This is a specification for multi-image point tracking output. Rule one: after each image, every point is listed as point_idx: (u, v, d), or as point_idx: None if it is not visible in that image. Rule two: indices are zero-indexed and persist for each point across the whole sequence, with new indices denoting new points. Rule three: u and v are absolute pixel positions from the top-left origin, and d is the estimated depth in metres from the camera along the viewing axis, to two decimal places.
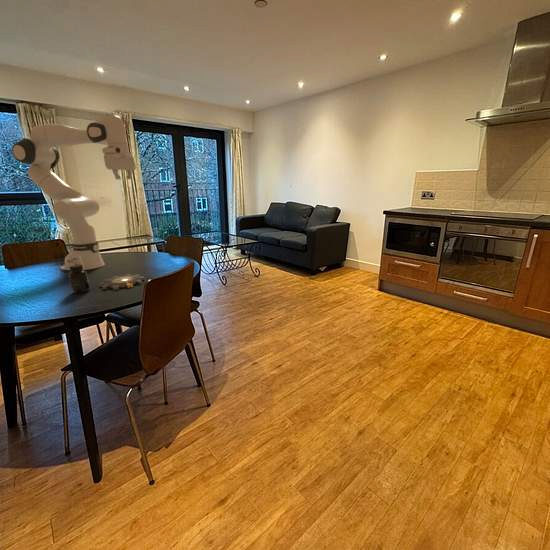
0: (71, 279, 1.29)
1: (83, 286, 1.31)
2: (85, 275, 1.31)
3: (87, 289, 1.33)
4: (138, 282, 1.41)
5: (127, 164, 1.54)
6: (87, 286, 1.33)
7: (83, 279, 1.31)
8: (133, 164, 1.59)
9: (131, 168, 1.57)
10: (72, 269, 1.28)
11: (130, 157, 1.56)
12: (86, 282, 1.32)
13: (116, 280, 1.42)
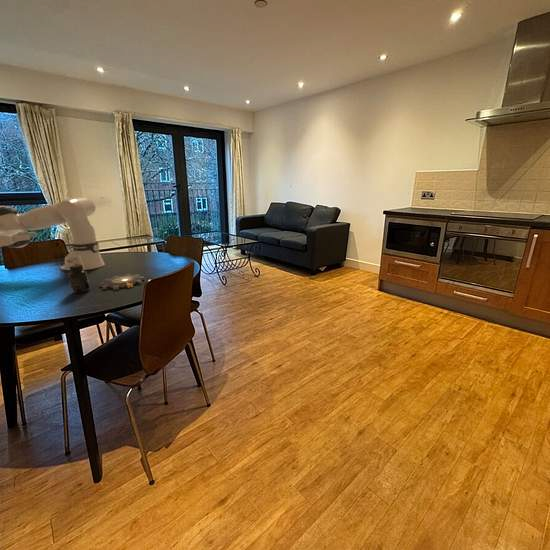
0: (71, 279, 1.29)
1: (83, 286, 1.31)
2: (85, 275, 1.31)
3: (87, 289, 1.33)
4: (138, 282, 1.41)
5: (11, 231, 1.19)
6: (87, 286, 1.33)
7: (83, 279, 1.31)
8: (13, 230, 1.24)
9: (18, 230, 1.23)
10: (72, 269, 1.28)
11: (2, 231, 1.21)
12: (86, 282, 1.32)
13: (116, 280, 1.42)
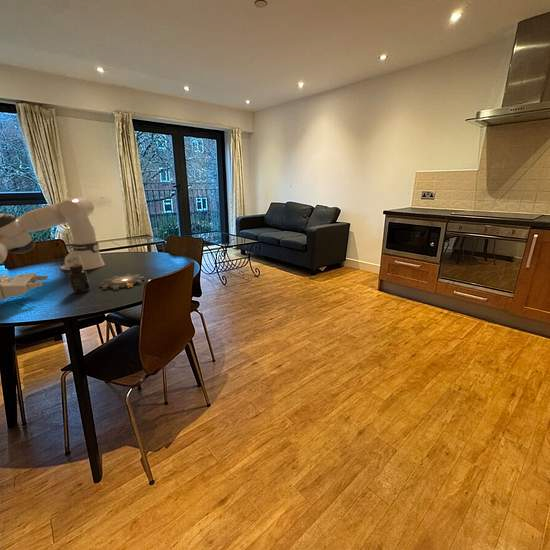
0: (71, 279, 1.29)
1: (83, 286, 1.31)
2: (85, 275, 1.31)
3: (87, 289, 1.33)
4: (138, 282, 1.41)
5: (24, 277, 1.25)
6: (87, 286, 1.33)
7: (83, 279, 1.31)
8: (26, 274, 1.30)
9: (31, 275, 1.28)
10: (72, 269, 1.28)
11: (15, 276, 1.27)
12: (86, 282, 1.32)
13: (116, 280, 1.42)
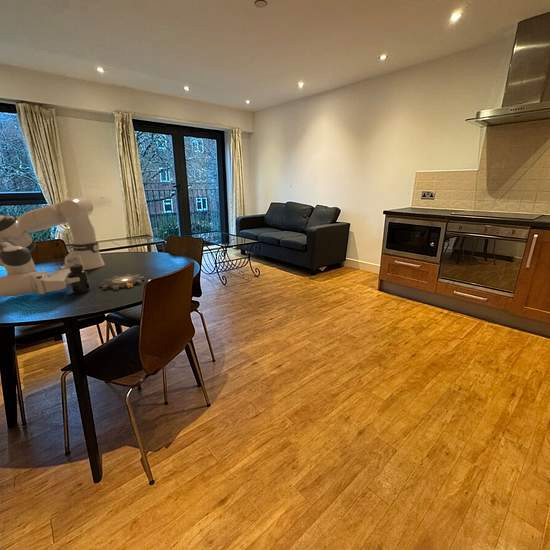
0: None
1: (83, 286, 1.31)
2: (85, 275, 1.31)
3: (87, 289, 1.33)
4: (138, 282, 1.41)
5: (61, 273, 1.31)
6: (87, 286, 1.33)
7: (83, 279, 1.31)
8: (62, 270, 1.35)
9: (67, 271, 1.34)
10: (72, 269, 1.28)
11: (53, 272, 1.32)
12: (86, 281, 1.32)
13: (116, 280, 1.42)
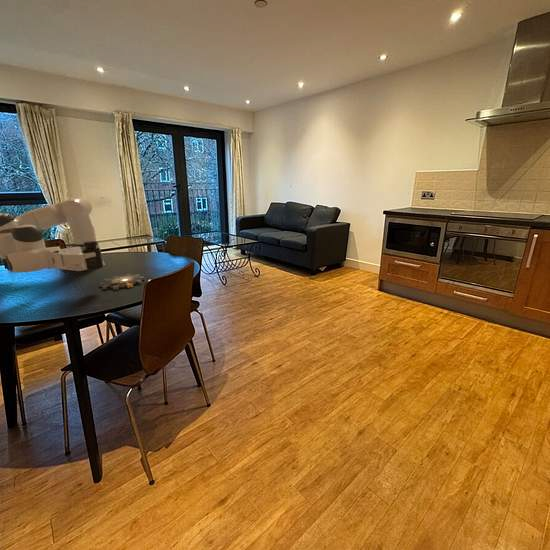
0: None
1: (98, 262, 1.31)
2: (99, 251, 1.32)
3: (101, 265, 1.33)
4: (138, 282, 1.41)
5: (74, 249, 1.30)
6: (102, 262, 1.34)
7: (98, 255, 1.31)
8: (72, 247, 1.34)
9: (78, 248, 1.33)
10: (87, 245, 1.29)
11: None
12: (100, 258, 1.33)
13: (116, 280, 1.42)
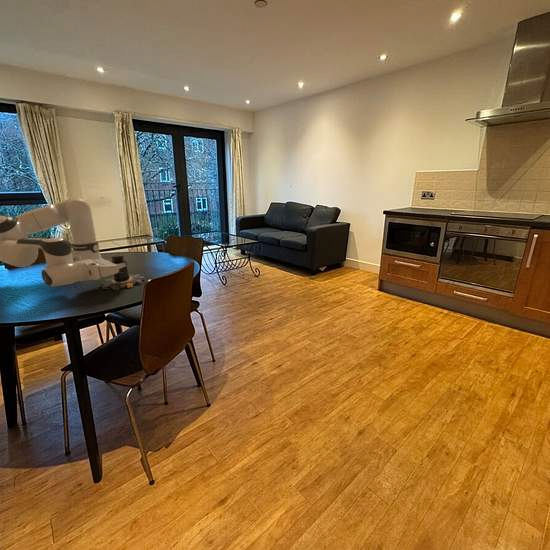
0: None
1: (126, 273, 1.41)
2: (126, 264, 1.41)
3: (128, 277, 1.43)
4: (138, 282, 1.41)
5: (102, 261, 1.37)
6: (128, 274, 1.43)
7: (126, 267, 1.41)
8: (96, 259, 1.40)
9: (103, 259, 1.40)
10: (116, 258, 1.37)
11: None
12: (127, 270, 1.42)
13: None
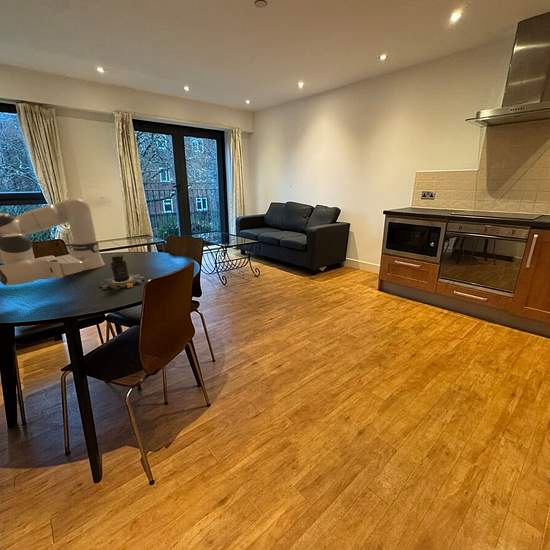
0: (115, 268, 1.37)
1: (126, 274, 1.41)
2: (126, 264, 1.41)
3: (128, 277, 1.43)
4: (138, 282, 1.41)
5: (67, 258, 1.26)
6: (128, 274, 1.43)
7: (126, 267, 1.40)
8: (62, 256, 1.29)
9: (70, 256, 1.29)
10: (116, 258, 1.37)
11: None
12: (127, 270, 1.42)
13: None
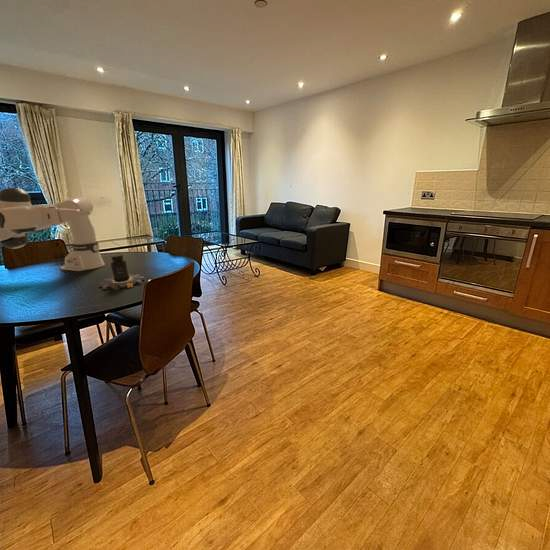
0: (115, 268, 1.37)
1: (126, 273, 1.40)
2: (126, 264, 1.41)
3: (128, 277, 1.43)
4: (138, 282, 1.41)
5: None
6: (128, 274, 1.43)
7: (126, 267, 1.40)
8: (59, 208, 1.32)
9: (67, 208, 1.32)
10: (116, 258, 1.37)
11: None
12: (127, 270, 1.42)
13: None
